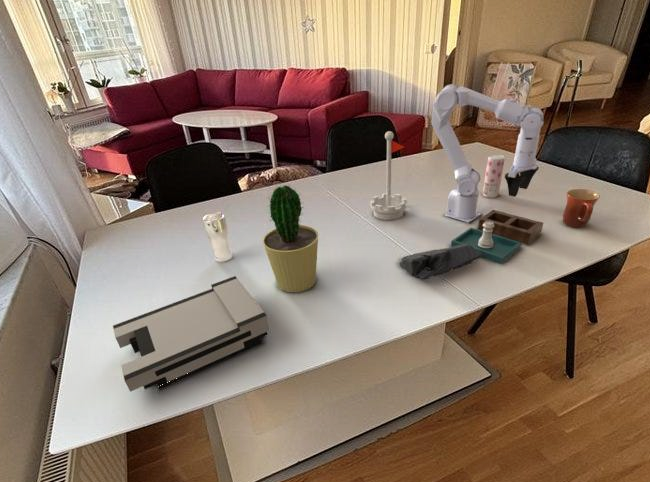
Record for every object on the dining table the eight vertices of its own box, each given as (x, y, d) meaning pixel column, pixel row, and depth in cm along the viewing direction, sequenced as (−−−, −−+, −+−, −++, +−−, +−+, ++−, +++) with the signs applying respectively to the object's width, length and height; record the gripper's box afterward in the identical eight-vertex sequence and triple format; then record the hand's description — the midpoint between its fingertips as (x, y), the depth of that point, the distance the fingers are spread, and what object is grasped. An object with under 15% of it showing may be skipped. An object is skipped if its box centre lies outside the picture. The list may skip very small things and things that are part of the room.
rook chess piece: (475, 243, 123) (478, 220, 119) (489, 241, 123) (492, 218, 119) (481, 250, 119) (485, 226, 115) (495, 248, 120) (500, 224, 115)
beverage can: (499, 193, 153) (506, 154, 145) (496, 198, 150) (503, 159, 141) (484, 191, 156) (490, 153, 148) (480, 196, 152) (486, 158, 144)
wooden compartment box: (477, 229, 131) (479, 218, 129) (491, 220, 136) (493, 209, 134) (527, 245, 120) (530, 233, 118) (540, 234, 125) (543, 222, 123)
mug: (555, 217, 133) (563, 189, 127) (584, 217, 131) (593, 188, 125) (566, 234, 123) (575, 204, 118) (598, 235, 121) (609, 204, 116)
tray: (450, 246, 124) (451, 240, 123) (470, 232, 130) (470, 227, 129) (501, 263, 113) (502, 258, 112) (520, 248, 119) (521, 242, 118)
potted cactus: (304, 302, 107) (290, 199, 91) (260, 289, 114) (240, 191, 98) (332, 273, 117) (324, 177, 101) (290, 263, 125) (276, 171, 109)
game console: (123, 346, 99) (110, 321, 94) (241, 299, 111) (235, 275, 106) (136, 403, 83) (122, 376, 79) (272, 341, 95) (266, 315, 91)
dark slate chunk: (491, 264, 110) (492, 248, 108) (418, 283, 107) (418, 267, 105) (460, 246, 123) (460, 232, 121) (395, 262, 120) (394, 248, 118)
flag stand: (366, 219, 146) (365, 136, 129) (375, 204, 155) (375, 126, 139) (402, 222, 141) (405, 137, 124) (409, 207, 151) (412, 126, 134)
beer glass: (238, 252, 134) (228, 212, 125) (228, 263, 128) (217, 222, 120) (220, 251, 136) (210, 211, 128) (209, 261, 131) (198, 221, 122)
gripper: (528, 159, 115) (519, 202, 122) (550, 146, 122) (540, 187, 129) (504, 155, 119) (497, 197, 127) (526, 143, 127) (518, 183, 134)
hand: (517, 192), depth 128 cm, fingers open, 7 cm apart
